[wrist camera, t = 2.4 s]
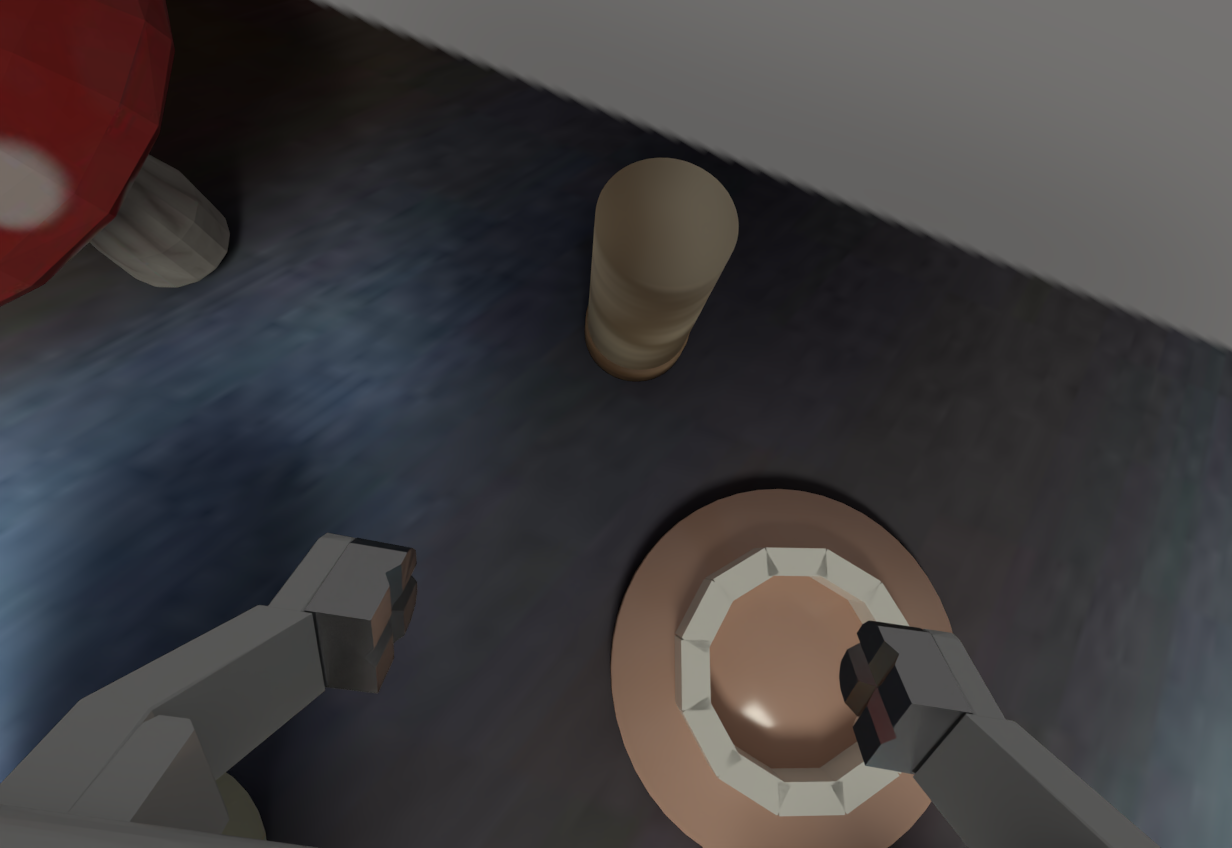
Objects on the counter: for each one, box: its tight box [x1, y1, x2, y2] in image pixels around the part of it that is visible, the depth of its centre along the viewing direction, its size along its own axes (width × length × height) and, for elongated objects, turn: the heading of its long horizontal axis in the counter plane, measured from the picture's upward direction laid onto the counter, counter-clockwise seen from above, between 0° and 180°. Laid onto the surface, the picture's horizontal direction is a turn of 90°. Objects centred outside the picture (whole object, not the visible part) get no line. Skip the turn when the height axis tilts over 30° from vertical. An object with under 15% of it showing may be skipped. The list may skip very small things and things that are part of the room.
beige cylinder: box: [585, 158, 739, 381], centre depth 24 cm, size 5×5×10 cm
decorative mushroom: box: [0, 0, 230, 307], centre depth 20 cm, size 16×16×15 cm
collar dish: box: [610, 489, 953, 848], centre depth 24 cm, size 16×16×2 cm
